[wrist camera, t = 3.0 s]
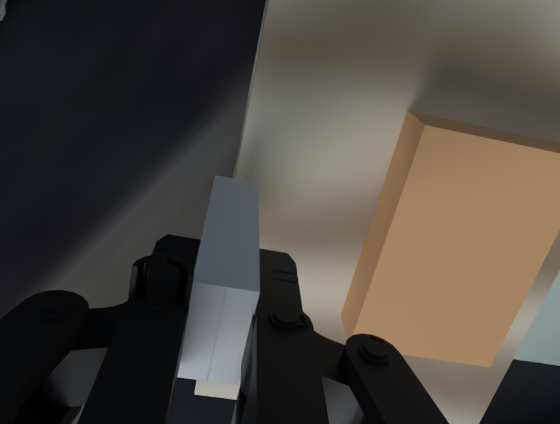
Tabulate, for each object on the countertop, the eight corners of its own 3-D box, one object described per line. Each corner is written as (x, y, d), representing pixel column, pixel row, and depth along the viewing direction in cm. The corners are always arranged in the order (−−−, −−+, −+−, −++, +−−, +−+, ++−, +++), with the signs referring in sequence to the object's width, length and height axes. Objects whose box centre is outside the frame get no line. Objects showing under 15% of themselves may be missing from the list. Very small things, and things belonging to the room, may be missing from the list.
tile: (407, 110, 17) (425, 125, 15) (560, 143, 18) (594, 160, 16) (340, 315, 21) (348, 346, 19) (470, 335, 21) (489, 367, 20)
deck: (282, -91, 18) (289, -111, 14) (620, -3, 20) (702, -1, 16) (203, 337, 26) (194, 394, 22) (446, 371, 28) (475, 429, 24)
